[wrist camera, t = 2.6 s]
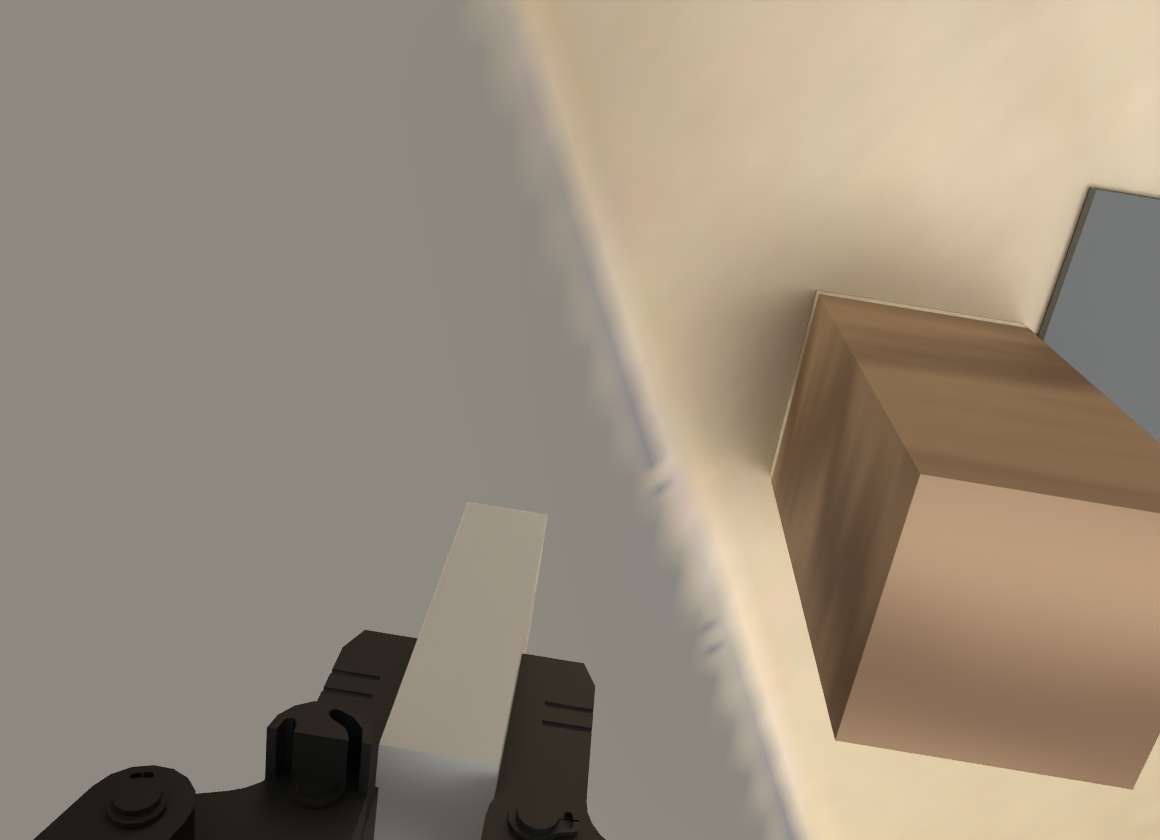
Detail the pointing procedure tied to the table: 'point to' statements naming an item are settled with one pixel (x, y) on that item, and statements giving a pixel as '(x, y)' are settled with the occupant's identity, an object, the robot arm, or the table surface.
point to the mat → (1113, 303)
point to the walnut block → (972, 543)
